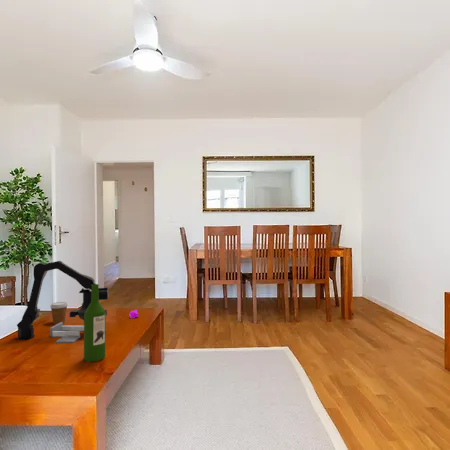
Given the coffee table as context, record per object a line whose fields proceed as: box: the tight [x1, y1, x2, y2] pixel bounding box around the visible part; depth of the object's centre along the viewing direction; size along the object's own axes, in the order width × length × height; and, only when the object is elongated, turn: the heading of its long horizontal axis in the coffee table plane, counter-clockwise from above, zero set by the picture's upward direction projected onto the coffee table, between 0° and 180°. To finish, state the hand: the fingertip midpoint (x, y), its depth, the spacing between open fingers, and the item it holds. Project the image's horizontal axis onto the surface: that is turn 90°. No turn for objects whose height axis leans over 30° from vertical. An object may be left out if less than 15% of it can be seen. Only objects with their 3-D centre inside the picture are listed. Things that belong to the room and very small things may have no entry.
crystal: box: [129, 309, 139, 319], centre depth 221 cm, size 5×5×5 cm
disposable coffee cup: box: [50, 301, 68, 326], centre depth 208 cm, size 10×10×12 cm
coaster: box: [55, 335, 82, 344], centre depth 177 cm, size 9×9×1 cm
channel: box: [49, 322, 84, 338], centre depth 188 cm, size 15×11×4 cm
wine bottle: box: [83, 283, 107, 362], centre depth 152 cm, size 9×9×32 cm
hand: (88, 329), depth 188 cm, fingers closed
